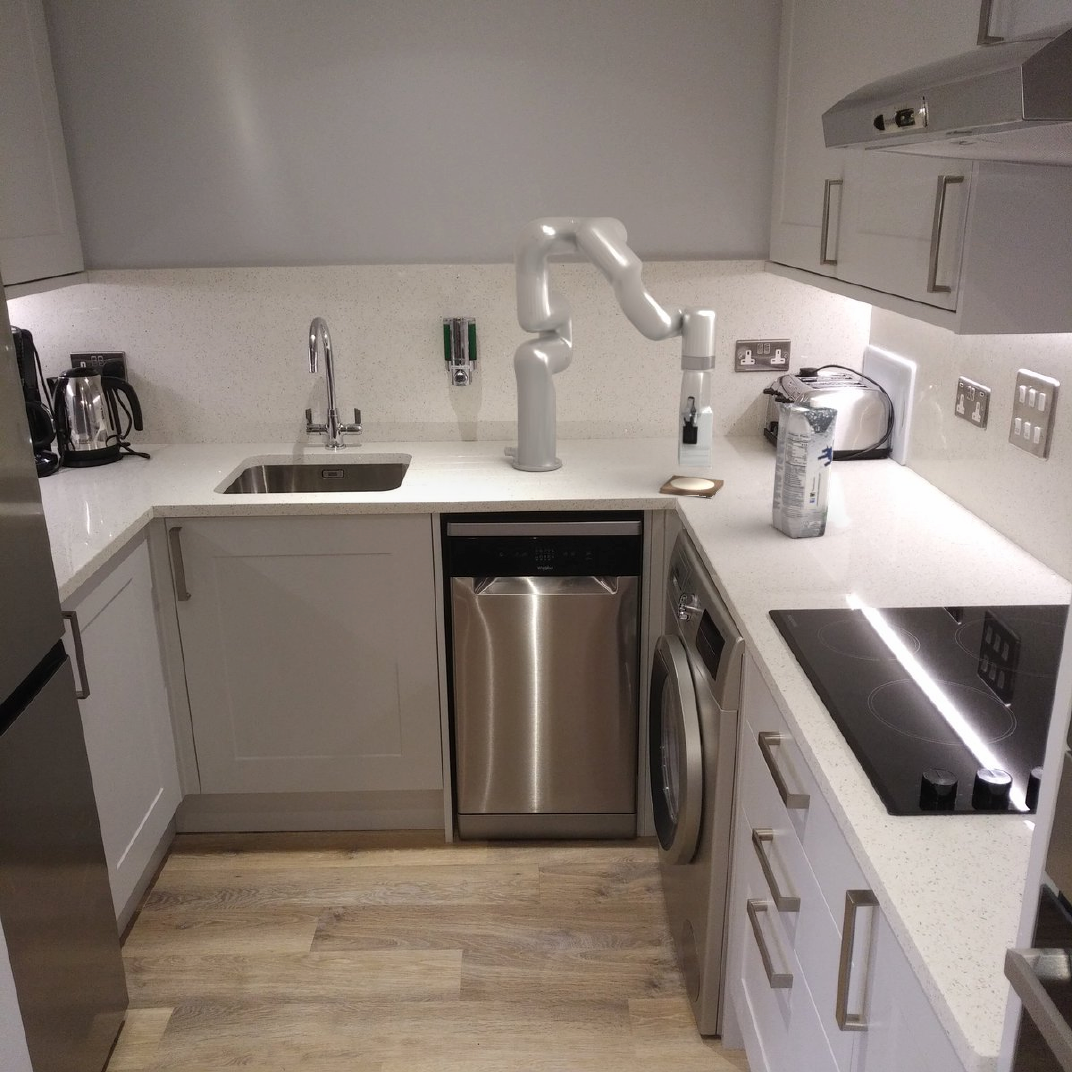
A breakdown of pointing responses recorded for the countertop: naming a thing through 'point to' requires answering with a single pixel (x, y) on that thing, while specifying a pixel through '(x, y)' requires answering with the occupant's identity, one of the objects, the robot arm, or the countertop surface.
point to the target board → (691, 486)
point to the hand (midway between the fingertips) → (694, 439)
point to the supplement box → (702, 450)
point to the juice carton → (803, 467)
